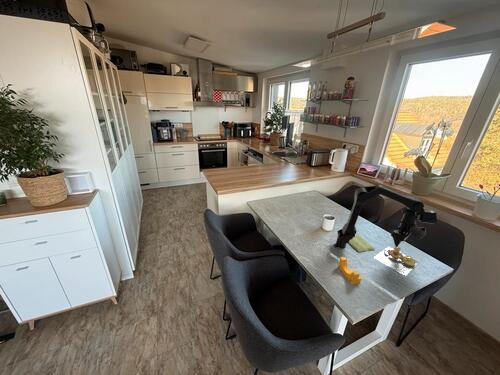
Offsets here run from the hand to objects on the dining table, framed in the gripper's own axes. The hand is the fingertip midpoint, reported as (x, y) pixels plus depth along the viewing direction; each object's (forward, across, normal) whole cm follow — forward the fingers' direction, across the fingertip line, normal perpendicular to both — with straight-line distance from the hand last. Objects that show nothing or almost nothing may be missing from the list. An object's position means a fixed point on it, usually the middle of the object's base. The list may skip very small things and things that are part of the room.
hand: (399, 243), depth 113 cm
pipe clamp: (+10, -35, +8) cm, 37 cm away
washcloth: (+11, -7, +19) cm, 23 cm away
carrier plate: (+10, -3, -2) cm, 11 cm away
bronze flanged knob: (+9, 0, 0) cm, 9 cm away
